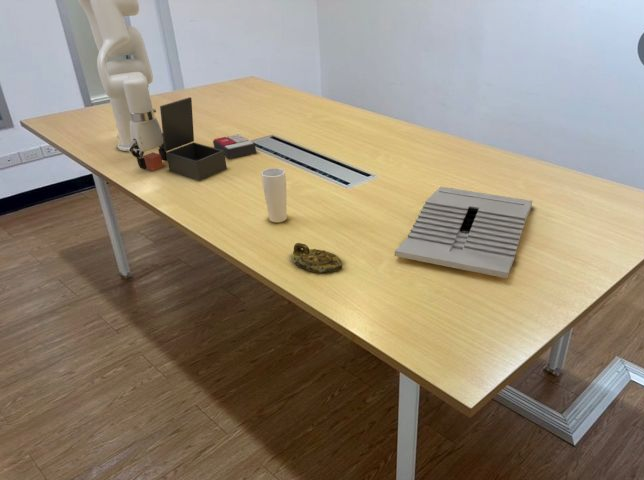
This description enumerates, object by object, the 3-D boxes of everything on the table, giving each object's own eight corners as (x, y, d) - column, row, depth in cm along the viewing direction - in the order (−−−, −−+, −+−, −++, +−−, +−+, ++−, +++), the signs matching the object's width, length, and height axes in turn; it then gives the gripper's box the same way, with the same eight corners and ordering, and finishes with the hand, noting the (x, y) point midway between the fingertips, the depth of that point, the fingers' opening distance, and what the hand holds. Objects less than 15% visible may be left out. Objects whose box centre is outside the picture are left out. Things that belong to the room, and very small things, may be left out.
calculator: (238, 133, 218) (255, 141, 208) (240, 143, 220) (256, 153, 210) (212, 138, 213) (227, 147, 202) (214, 149, 215) (229, 159, 205)
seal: (350, 264, 146) (301, 251, 151) (351, 248, 144) (301, 235, 149) (333, 278, 138) (282, 264, 144) (334, 261, 136) (282, 247, 141)
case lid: (191, 97, 190) (189, 97, 190) (161, 106, 181) (159, 106, 182) (194, 141, 200) (192, 140, 201) (165, 151, 191) (164, 150, 192)
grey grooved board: (437, 193, 180) (438, 181, 178) (528, 206, 172) (530, 193, 170) (398, 262, 145) (399, 248, 142) (511, 281, 137) (513, 267, 135)
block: (145, 168, 198) (142, 156, 195) (155, 164, 201) (152, 152, 199) (153, 170, 196) (150, 158, 193) (163, 166, 199) (161, 154, 196)
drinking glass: (267, 214, 168) (262, 167, 159) (290, 213, 168) (285, 167, 160) (265, 225, 162) (260, 177, 154) (289, 224, 163) (284, 176, 154)
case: (227, 168, 197) (224, 150, 194) (199, 180, 189) (196, 161, 185) (196, 159, 204) (193, 142, 201) (169, 171, 196) (165, 152, 192)
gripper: (156, 107, 196) (166, 154, 205) (113, 120, 184) (126, 169, 193) (170, 111, 192) (180, 158, 202) (127, 124, 180) (140, 174, 190)
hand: (153, 164), depth 198 cm, fingers open, 8 cm apart
